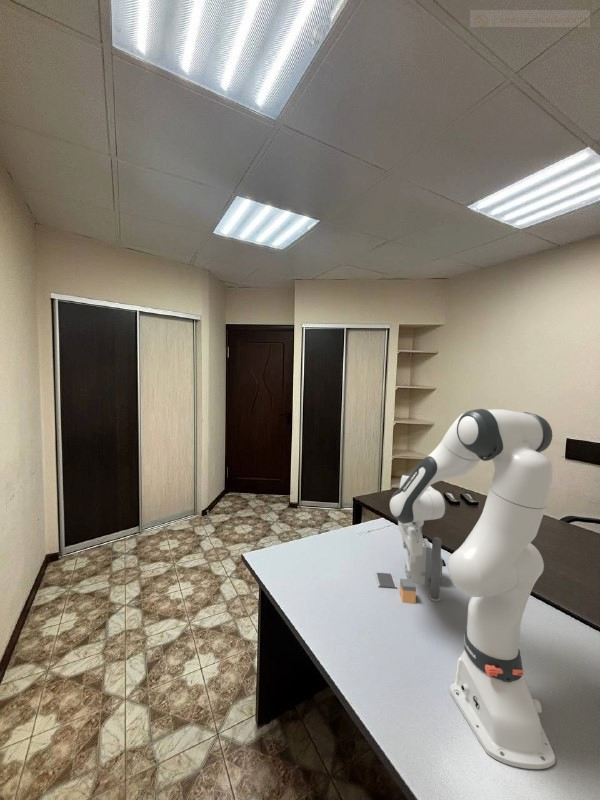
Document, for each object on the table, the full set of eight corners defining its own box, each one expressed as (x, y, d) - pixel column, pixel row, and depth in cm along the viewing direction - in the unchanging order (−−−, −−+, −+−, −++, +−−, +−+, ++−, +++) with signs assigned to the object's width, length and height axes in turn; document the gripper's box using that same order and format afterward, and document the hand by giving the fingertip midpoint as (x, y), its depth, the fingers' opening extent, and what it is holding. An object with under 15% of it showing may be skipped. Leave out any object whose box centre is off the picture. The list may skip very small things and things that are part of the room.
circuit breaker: (446, 587, 124) (447, 549, 124) (407, 582, 127) (408, 545, 126) (441, 576, 132) (443, 540, 131) (405, 571, 134) (406, 536, 134)
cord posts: (441, 602, 116) (444, 542, 115) (430, 601, 116) (433, 541, 115) (420, 561, 143) (422, 512, 142) (410, 560, 143) (412, 512, 142)
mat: (397, 588, 123) (397, 587, 123) (378, 587, 123) (378, 585, 123) (392, 574, 132) (392, 573, 132) (374, 573, 132) (374, 572, 132)
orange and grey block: (415, 603, 115) (416, 587, 115) (402, 602, 115) (403, 586, 115) (412, 595, 119) (412, 579, 119) (399, 594, 120) (400, 578, 119)
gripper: (428, 531, 105) (426, 572, 106) (412, 506, 126) (410, 541, 127) (409, 529, 106) (407, 570, 107) (395, 505, 126) (394, 540, 127)
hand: (408, 554), depth 117 cm, fingers open, 8 cm apart
